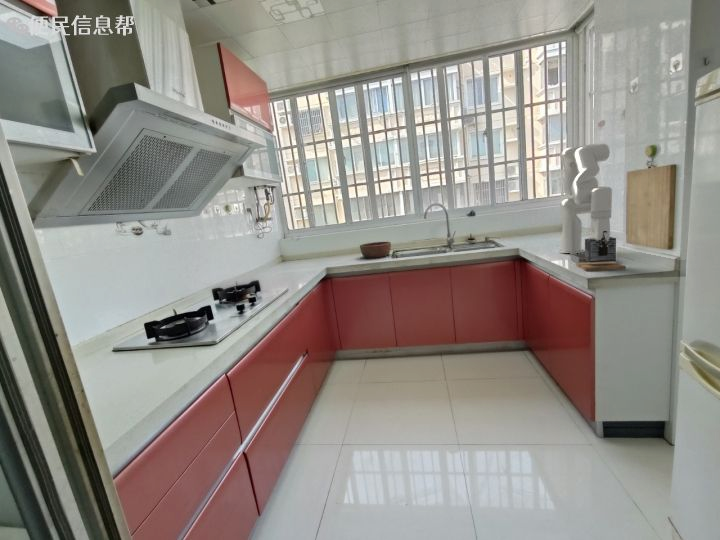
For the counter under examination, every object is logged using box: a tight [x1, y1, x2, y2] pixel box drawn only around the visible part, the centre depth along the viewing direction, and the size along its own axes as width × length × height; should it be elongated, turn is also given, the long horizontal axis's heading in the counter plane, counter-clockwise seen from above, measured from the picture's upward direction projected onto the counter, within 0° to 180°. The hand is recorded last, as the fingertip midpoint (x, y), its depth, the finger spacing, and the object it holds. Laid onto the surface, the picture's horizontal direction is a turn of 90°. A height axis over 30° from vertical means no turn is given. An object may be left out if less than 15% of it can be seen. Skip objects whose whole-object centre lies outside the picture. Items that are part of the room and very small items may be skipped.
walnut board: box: [576, 261, 627, 272], centre depth 153 cm, size 13×15×2 cm
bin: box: [570, 253, 617, 264], centre depth 166 cm, size 13×16×3 cm
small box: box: [584, 236, 617, 262], centre depth 151 cm, size 11×6×10 cm, turn 74°
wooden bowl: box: [359, 241, 392, 259], centre depth 264 cm, size 25×25×10 cm
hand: (599, 253), depth 152 cm, fingers closed on small box, 6 cm apart
